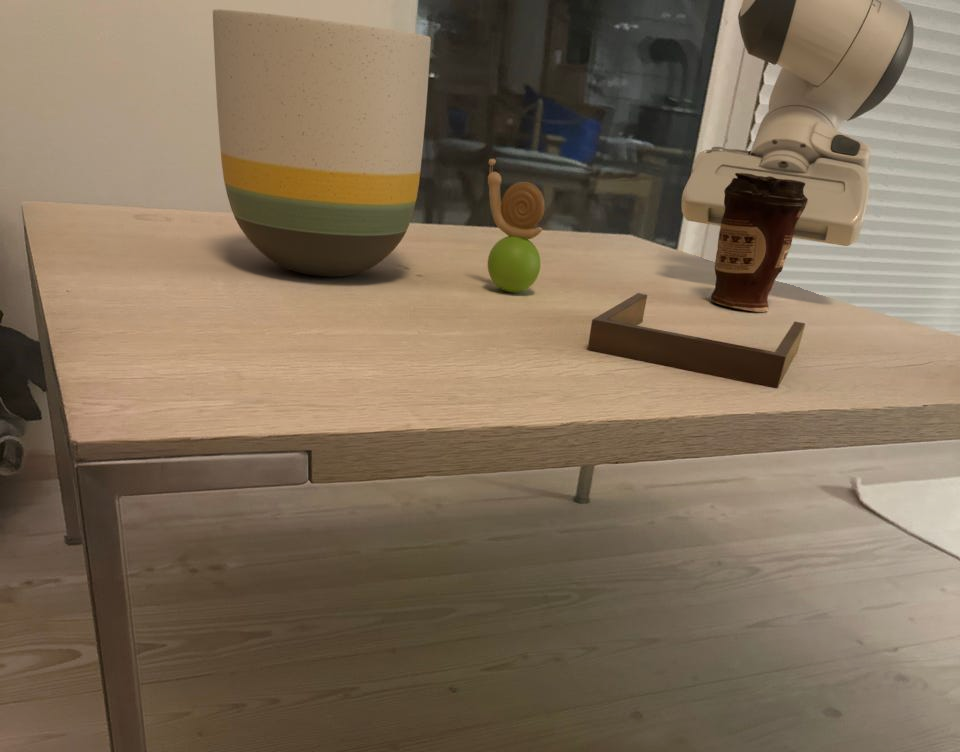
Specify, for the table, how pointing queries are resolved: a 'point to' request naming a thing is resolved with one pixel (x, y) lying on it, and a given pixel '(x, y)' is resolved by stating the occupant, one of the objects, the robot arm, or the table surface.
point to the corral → (689, 347)
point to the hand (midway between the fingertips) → (754, 258)
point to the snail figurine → (515, 233)
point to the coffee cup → (755, 238)
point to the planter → (320, 136)
